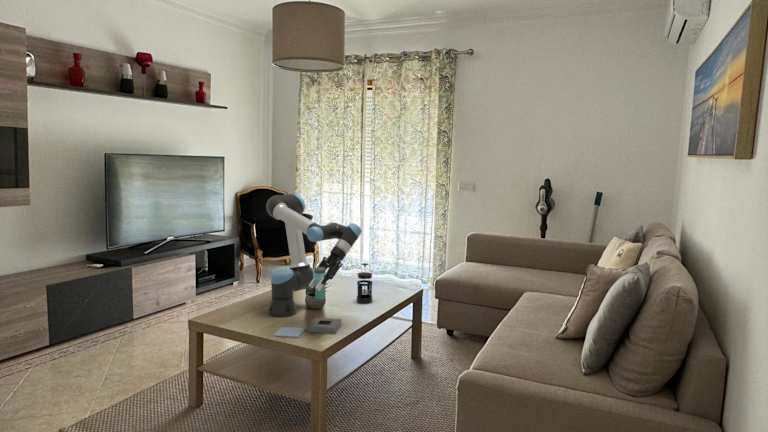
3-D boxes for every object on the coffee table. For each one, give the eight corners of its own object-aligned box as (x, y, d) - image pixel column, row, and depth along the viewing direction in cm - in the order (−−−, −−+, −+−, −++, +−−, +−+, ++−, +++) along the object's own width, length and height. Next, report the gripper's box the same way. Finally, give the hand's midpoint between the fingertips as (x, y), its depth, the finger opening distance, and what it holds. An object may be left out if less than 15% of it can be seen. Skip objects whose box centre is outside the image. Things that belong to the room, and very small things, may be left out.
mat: (273, 336, 254) (273, 334, 253) (281, 328, 265) (281, 326, 265) (298, 338, 252) (298, 336, 252) (305, 329, 264) (305, 328, 264)
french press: (362, 298, 323) (363, 261, 320) (375, 300, 318) (376, 263, 315) (352, 303, 312) (352, 264, 310) (365, 305, 308) (366, 266, 305)
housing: (307, 332, 261) (307, 326, 260) (314, 323, 274) (314, 317, 274) (335, 333, 259) (335, 327, 258) (341, 324, 272) (341, 319, 272)
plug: (314, 299, 261) (314, 269, 258) (316, 296, 266) (316, 266, 263) (324, 299, 260) (324, 269, 258) (326, 296, 265) (326, 267, 263)
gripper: (356, 257, 264) (329, 296, 255) (333, 252, 277) (307, 288, 268) (347, 248, 260) (320, 287, 251) (325, 243, 273) (298, 280, 264)
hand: (314, 287), depth 259 cm, fingers closed on plug, 5 cm apart
